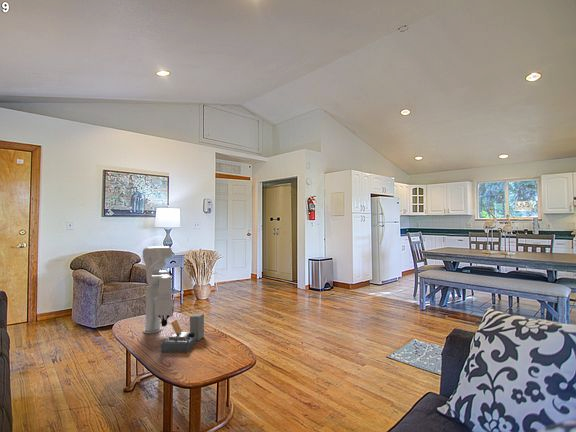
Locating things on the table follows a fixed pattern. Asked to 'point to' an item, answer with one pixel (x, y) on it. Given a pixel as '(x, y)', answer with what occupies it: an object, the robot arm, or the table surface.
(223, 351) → the table surface
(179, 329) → the breaker lever
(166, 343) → the breaker box
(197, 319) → the skincare box
